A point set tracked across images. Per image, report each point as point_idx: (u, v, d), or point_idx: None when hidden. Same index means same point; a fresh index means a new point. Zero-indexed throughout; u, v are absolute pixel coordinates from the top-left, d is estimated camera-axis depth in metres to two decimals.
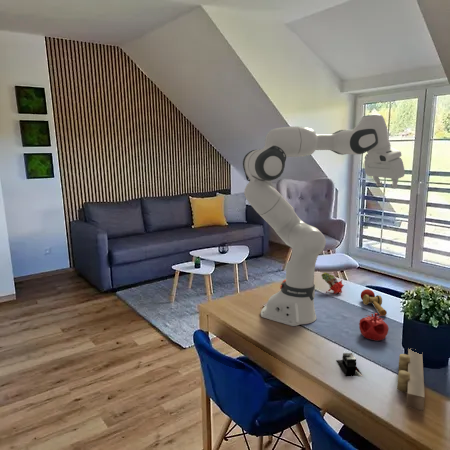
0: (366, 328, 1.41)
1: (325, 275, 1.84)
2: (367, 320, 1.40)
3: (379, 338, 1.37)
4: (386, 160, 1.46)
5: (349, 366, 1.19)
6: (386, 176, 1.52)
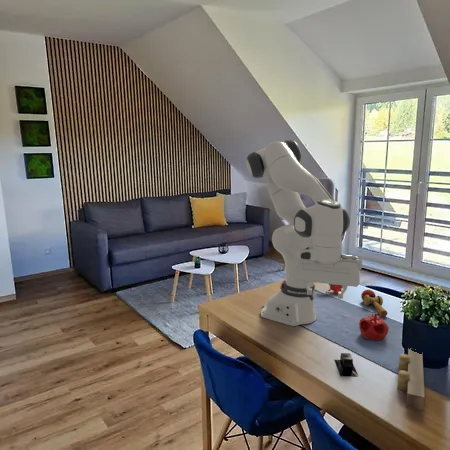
0: (366, 328, 1.41)
1: None
2: (367, 320, 1.40)
3: (379, 338, 1.37)
4: None
5: (345, 366, 1.19)
6: None
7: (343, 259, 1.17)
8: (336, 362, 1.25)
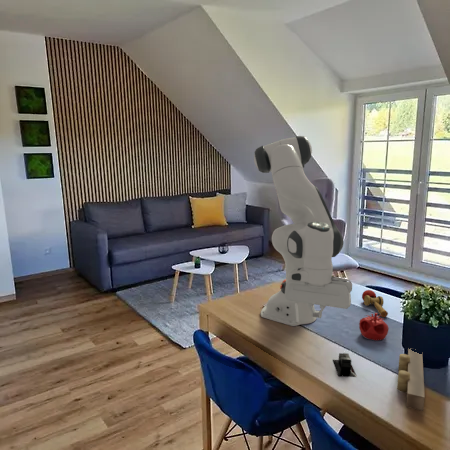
0: (366, 328, 1.41)
1: None
2: (367, 320, 1.40)
3: (379, 338, 1.37)
4: None
5: (344, 366, 1.19)
6: None
7: (333, 281, 1.18)
8: (334, 362, 1.25)
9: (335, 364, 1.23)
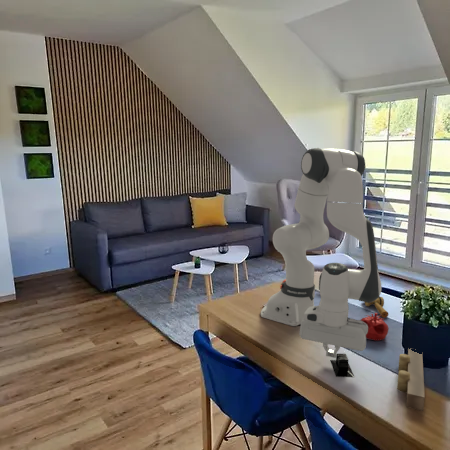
0: None
1: None
2: (367, 320, 1.40)
3: (379, 338, 1.37)
4: None
5: (341, 366, 1.19)
6: None
7: (349, 323, 1.19)
8: (332, 362, 1.24)
9: (332, 364, 1.23)
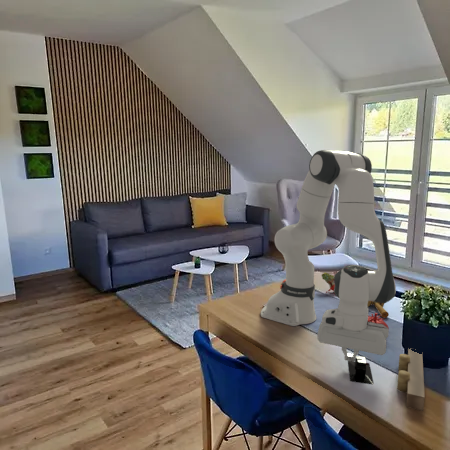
0: None
1: (325, 275, 1.84)
2: None
3: None
4: None
5: (358, 369, 1.17)
6: None
7: (369, 326, 1.16)
8: (351, 365, 1.23)
9: (351, 367, 1.22)
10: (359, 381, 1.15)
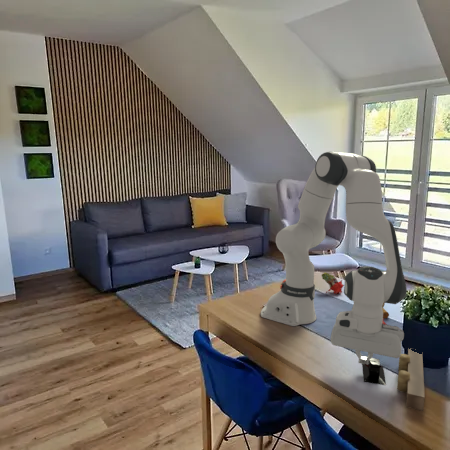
0: None
1: (325, 275, 1.84)
2: None
3: None
4: None
5: (372, 371, 1.16)
6: None
7: (384, 329, 1.15)
8: (365, 366, 1.22)
9: (365, 368, 1.21)
10: None
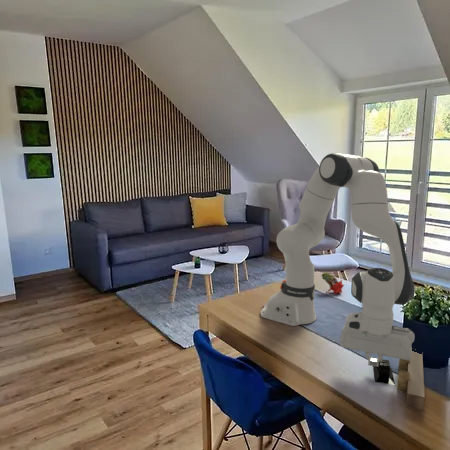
0: None
1: (325, 275, 1.84)
2: None
3: None
4: None
5: (382, 372, 1.16)
6: None
7: (394, 331, 1.13)
8: (374, 368, 1.21)
9: (374, 370, 1.20)
10: None
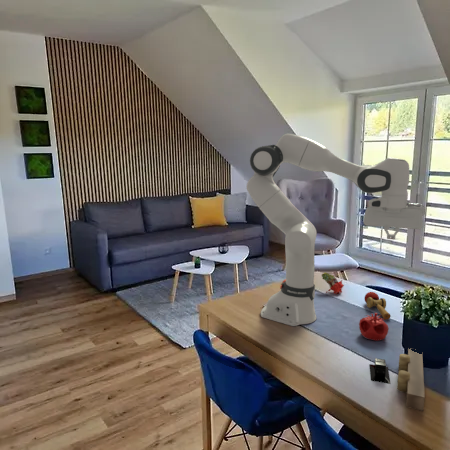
0: (366, 328, 1.41)
1: (325, 275, 1.84)
2: (367, 320, 1.40)
3: (379, 338, 1.37)
4: None
5: (378, 371, 1.16)
6: None
7: (408, 206, 1.41)
8: (370, 367, 1.22)
9: (371, 369, 1.21)
10: None
